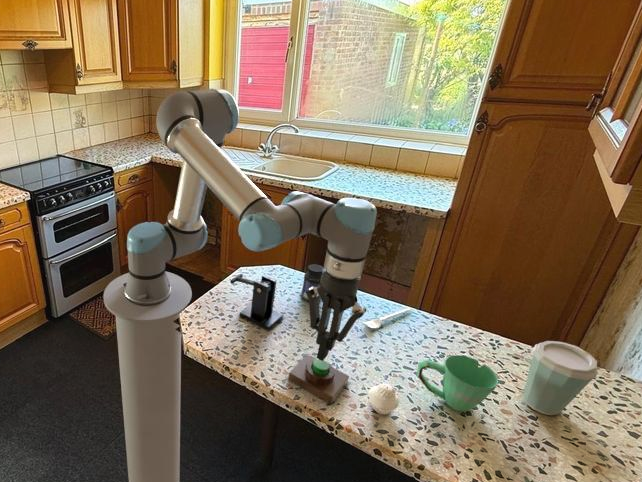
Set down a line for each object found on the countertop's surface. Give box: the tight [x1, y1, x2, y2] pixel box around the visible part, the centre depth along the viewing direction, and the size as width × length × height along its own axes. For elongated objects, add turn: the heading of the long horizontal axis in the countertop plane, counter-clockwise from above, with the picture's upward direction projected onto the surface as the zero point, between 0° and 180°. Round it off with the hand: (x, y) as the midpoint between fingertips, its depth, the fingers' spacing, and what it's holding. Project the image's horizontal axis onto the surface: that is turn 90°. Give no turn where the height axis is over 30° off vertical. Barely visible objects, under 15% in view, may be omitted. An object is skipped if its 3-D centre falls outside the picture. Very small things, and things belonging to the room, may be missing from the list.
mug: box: [416, 354, 500, 413], centre depth 90 cm, size 15×10×10 cm
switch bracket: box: [239, 274, 284, 331], centre depth 117 cm, size 10×8×13 cm
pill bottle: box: [300, 263, 324, 302], centre depth 127 cm, size 6×6×11 cm
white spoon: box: [361, 308, 411, 329], centre depth 119 cm, size 3×20×2 cm, turn 116°
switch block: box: [288, 353, 350, 405], centre depth 97 cm, size 11×9×4 cm
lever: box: [229, 273, 271, 291], centre depth 118 cm, size 12×5×2 cm, turn 46°
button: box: [312, 358, 329, 375], centre depth 96 cm, size 4×4×2 cm
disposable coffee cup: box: [522, 340, 599, 416], centre depth 88 cm, size 11×11×15 cm
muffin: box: [368, 382, 400, 415], centre depth 89 cm, size 6×6×7 cm
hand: (322, 356), depth 94 cm, fingers closed
